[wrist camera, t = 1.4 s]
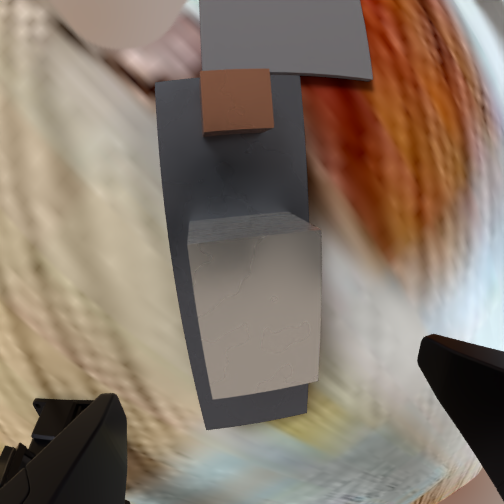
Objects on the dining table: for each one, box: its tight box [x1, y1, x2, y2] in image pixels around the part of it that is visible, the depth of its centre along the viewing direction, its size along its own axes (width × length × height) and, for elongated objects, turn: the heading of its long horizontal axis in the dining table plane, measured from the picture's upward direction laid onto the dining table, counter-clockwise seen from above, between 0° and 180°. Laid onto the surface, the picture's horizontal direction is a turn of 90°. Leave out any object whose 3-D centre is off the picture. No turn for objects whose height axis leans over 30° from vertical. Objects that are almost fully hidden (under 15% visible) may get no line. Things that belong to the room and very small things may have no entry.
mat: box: [199, 0, 373, 81], centre depth 14 cm, size 10×10×1 cm
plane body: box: [155, 69, 309, 430], centre depth 15 cm, size 19×6×6 cm, turn 4°
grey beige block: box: [187, 212, 322, 399], centre depth 13 cm, size 6×4×4 cm
